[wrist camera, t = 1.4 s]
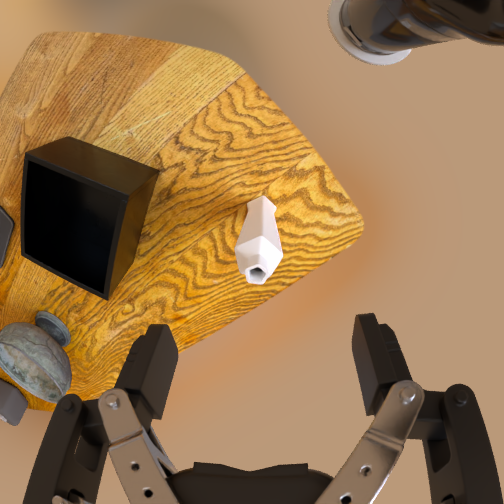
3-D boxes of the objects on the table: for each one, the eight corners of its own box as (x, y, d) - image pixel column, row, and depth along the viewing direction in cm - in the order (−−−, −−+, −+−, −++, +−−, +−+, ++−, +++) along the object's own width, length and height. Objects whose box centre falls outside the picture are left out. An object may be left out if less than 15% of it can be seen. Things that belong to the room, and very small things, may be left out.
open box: (68, 135, 34) (24, 152, 26) (160, 170, 37) (129, 195, 28) (55, 225, 42) (21, 255, 33) (133, 262, 44) (107, 301, 36)
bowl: (54, 358, 61) (30, 401, 48) (11, 300, 52) (-22, 342, 39) (106, 358, 58) (82, 411, 45) (58, 289, 48) (18, 342, 35)
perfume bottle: (235, 210, 39) (218, 274, 26) (259, 187, 37) (253, 243, 24) (260, 232, 41) (256, 304, 28) (284, 211, 39) (291, 277, 26)
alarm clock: (5, 389, 82) (-9, 414, 68) (-7, 372, 76) (-23, 399, 63) (30, 401, 82) (15, 430, 68) (17, 385, 76) (1, 415, 63)
